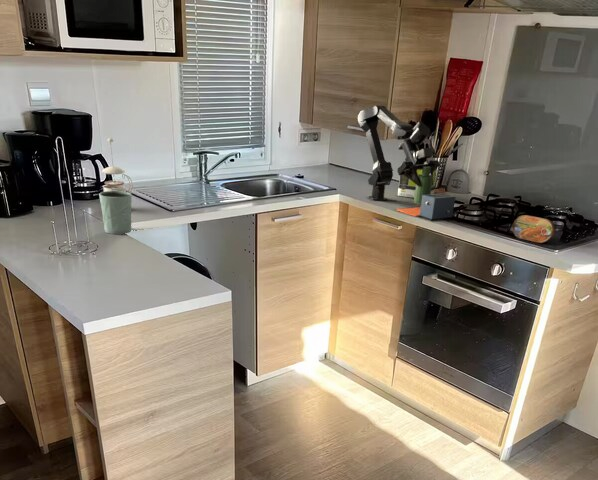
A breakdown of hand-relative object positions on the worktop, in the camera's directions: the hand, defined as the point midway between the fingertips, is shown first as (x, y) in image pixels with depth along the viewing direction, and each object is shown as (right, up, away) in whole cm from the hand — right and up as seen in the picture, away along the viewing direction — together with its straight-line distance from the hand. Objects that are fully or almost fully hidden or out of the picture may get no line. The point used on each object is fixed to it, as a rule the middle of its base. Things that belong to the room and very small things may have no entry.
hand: (426, 185), depth 244 cm
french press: (-120, -15, -16) cm, 122 cm away
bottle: (-1, -5, +5) cm, 7 cm away
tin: (+33, -29, -25) cm, 51 cm away
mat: (-2, -9, +7) cm, 11 cm away
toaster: (+4, -13, 0) cm, 14 cm away
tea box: (+3, +8, +37) cm, 38 cm away
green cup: (-112, -31, -43) cm, 124 cm away
